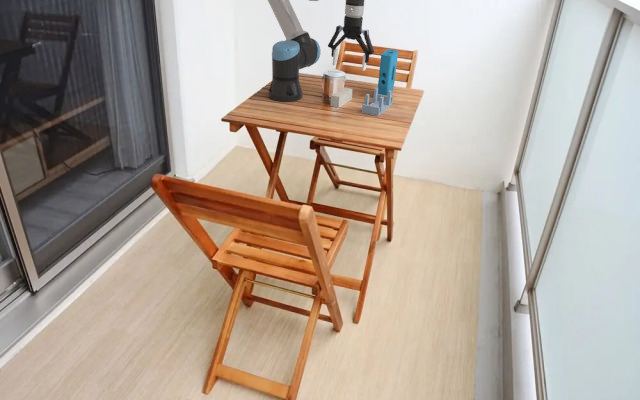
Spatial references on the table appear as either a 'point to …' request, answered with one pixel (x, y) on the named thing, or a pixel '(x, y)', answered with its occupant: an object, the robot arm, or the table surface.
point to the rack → (377, 103)
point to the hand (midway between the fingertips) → (349, 67)
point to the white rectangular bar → (341, 97)
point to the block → (387, 71)
